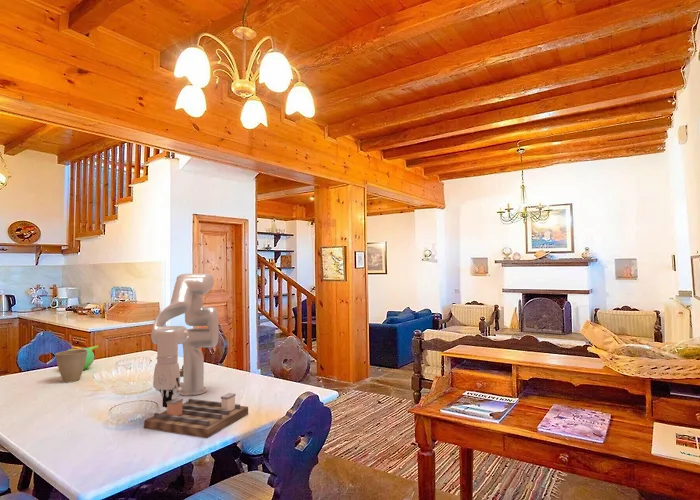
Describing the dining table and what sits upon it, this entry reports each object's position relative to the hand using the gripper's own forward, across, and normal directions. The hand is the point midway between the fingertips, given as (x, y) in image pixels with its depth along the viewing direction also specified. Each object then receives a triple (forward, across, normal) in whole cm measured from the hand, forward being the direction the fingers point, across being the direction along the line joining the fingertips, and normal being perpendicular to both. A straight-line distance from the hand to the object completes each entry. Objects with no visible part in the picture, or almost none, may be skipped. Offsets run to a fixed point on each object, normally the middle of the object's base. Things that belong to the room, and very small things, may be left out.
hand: (167, 406), depth 166 cm
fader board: (+7, +10, +6) cm, 14 cm away
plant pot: (+7, -101, +33) cm, 106 cm away
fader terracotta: (+3, +4, 0) cm, 5 cm away
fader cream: (+3, +20, +12) cm, 24 cm away
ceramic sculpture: (+7, -46, +65) cm, 80 cm away
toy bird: (+7, -122, +53) cm, 133 cm away
